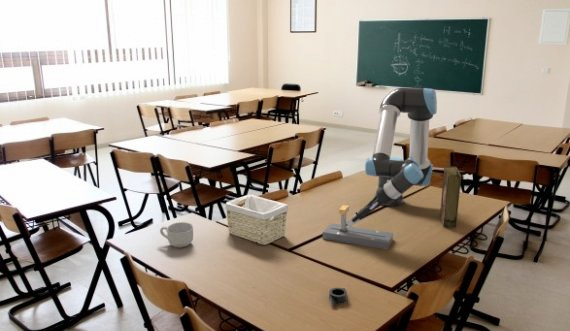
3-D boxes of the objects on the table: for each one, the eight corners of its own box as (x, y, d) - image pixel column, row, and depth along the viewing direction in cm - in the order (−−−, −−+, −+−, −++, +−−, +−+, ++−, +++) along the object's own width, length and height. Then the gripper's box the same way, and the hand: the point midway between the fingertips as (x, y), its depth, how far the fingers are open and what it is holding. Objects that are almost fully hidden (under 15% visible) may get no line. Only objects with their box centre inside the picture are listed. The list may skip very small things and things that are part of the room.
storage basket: (224, 233, 211) (223, 201, 207) (250, 223, 223) (249, 193, 219) (264, 248, 196) (264, 214, 192) (289, 236, 208) (289, 204, 204)
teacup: (198, 241, 202) (197, 223, 200) (185, 251, 192) (184, 233, 190) (170, 237, 206) (169, 219, 204) (155, 247, 196) (154, 229, 194)
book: (439, 215, 233) (444, 165, 226) (451, 216, 232) (456, 166, 225) (443, 227, 217) (448, 175, 211) (456, 228, 216) (461, 175, 210)
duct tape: (318, 299, 158) (318, 291, 157) (341, 290, 163) (342, 283, 162) (333, 309, 151) (333, 301, 151) (357, 300, 157) (357, 292, 156)
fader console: (392, 239, 204) (393, 232, 203) (387, 249, 194) (387, 242, 194) (330, 229, 215) (330, 223, 214) (322, 238, 205) (322, 231, 204)
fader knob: (348, 227, 208) (349, 205, 206) (344, 232, 203) (345, 210, 200) (342, 226, 210) (342, 204, 207) (337, 231, 204) (338, 209, 202)
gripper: (386, 181, 200) (346, 212, 211) (379, 189, 189) (337, 222, 199) (398, 194, 200) (357, 225, 210) (391, 204, 188) (349, 236, 199)
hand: (348, 224), depth 205 cm, fingers closed
